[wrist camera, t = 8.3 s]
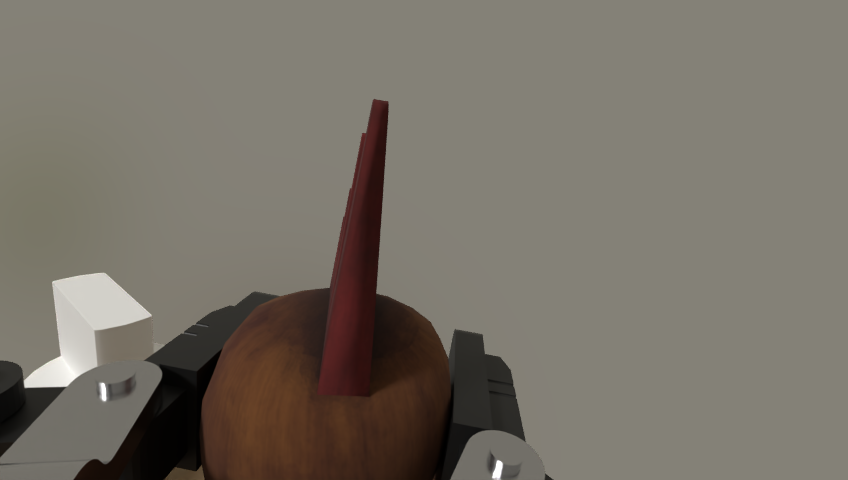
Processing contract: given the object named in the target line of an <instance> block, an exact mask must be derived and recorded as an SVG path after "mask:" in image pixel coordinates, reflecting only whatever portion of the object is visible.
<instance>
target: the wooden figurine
mask: <svg viewBox="0 0 848 480" xmlns="http://www.w3.org/2000/svg"><path fill="white" fill-rule="evenodd" d="M387 125H388V101H381V100H376V99H374V100H373V103H372V108H371V113H370V117H369V122H368V127H367V132H366V133H362V137H361V142H360V148H359V153H358V158H357V163H356V169H355V173H354V178H353V184H352V188H351V189H350V191H349V196H348V201H347V207H346V212H345V217H343V222H342V227H341V233H340V237H339V243H338V248H337V253H336V258H335V263H334V269H333V274H332V279H331V284H330V288H324V289H315V290H305V291H300V292H296V293H292V294H288V295H284V296H280V297H277V298H275V299H272V300H270V301H268V302H266V303H263V304H261V305H259V306H257V307H256V308H255V309H254V310H253V311H252V312H251V313H250V315H249V316H248V317H247V318H246V319H245V320H244V321H243V322H242V324H241V325H240V326H239V327H238V328H237V329H236V331H235V332H234V333H233V334H232V335H231V336H230V338H229V339H228V340H227V341H226V342H225V344H224V346H223V349H222V352H221V354H220V357H219V360H218V362H217V365H216V368H215V370H214V373H213V375H212V378H211V380H210V383H209V385H208V388H207V390H206V393H205V395H204V398H203V400H202V410H201V420H200V430H199V438H200V452H201V463H202V468H203V473H204V478H205V480H435V475H436V471H437V469H438V467H439V465H440V461H441V457H442V452H443V448H444V444H445V439H446V434H447V429H448V424H449V418H450V413H451V383H450V372H449V362H448V357H447V355H446V352H445V350H444V347H443V345H442V343H441V340H440V338H439V336H438V334H437V333H436V331H435V329H434V327H433V326H432V324H431V322H430V321H428V320H427V319H426V318H425V317H423V316H422V315H420V314H419V313H418V312H417V311H415V310H414V309H413V308H411V307H409V306H407V305H405V304H403V303H400V302H398V301H396V300H394V299H392V298H390V297H388V296H383V295H379V294H376V288H377V272H378V258H379V244H380V228H381V214H382V200H383V184H384V169H385V155H386V140H387V139H386V138H387Z"/></svg>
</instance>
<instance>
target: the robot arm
mask: <svg viewBox="0 0 848 480" xmlns="http://www.w3.org/2000/svg"><path fill="white" fill-rule="evenodd" d="M277 297H280V296H276V295H271V294H266V293H260V292H253V293H251V294H250V295H249V296H247V297H246V298H245V299H243V300H242V301H241V302H239V303H238V304H237V305H236V306H228V307H225V308H222V309H219V310H216V311H214V312H211V313H210V314H208V315H207V316H205V317H204V318H202V319H201V320H200V321H198V322H197V323H196V325H193V326H191V327H190V328H188V329H187V330H186V331H185V332H184V334H180V335H179V336H177V337H176V338H175V339H173V340H172V341H171V342H169V343H168V344H166V345H165V346H163V347H162V348H161V349H159V350H158V351H156V352H155V353H154V354H152V355H151V356H150V357H148V358H147V359H145V360H144V361H142V360H124V361H117V362H112V363H108V364H104V365H101V366H98V367H95V368H93V369H91V370H88V371H86V372H85V373H83V374H81V375H80V376H78V377H77V378H75V379H74V380H73V381H72V382H71V383H70V384H69V385H68V386H67V387H34V388H25V387H24V379H23V372H22V368H21V367H20V366H19V365H17V364H15V363H13V362H8V361H0V480H165V478H166V477H167V475H168V474H169V473H170V472H171V471H172V470H173V468H174V467H178V468H183V469H188V470H192V471H197V470H198V469H199V467H200V466H201V465H202V463H201V452H200V438H199V430H200V420H201V410H202V400H203V398H204V395H205V393H206V390H207V388H208V385H209V383H210V380H211V378H212V375H213V373H214V370H215V368H216V365H217V362H218V360H219V357H220V354H221V352H222V349H223V346H224V344H225V342H226V341H227V340H228V339H229V338H230V336H231V335H232V334H233V333H234V332H235V331H236V329H237V328H238V327H239V326H240V325H241V324H242V322H243V321H244V320H245V319H246V318H247V317H248V316H249V315H250V313H251V312H252V311H253V310H254V309H255V308H256V307H257V306H259V305H261V304H263V303H266V302H268V301H270V300H272V299H275V298H277ZM448 362H449V372H450V383H451V413H450V418H449V424H448V429H447V434H446V439H445V444H444V448H443V452H442V457H441V461H440V465H439V467H438V469H437V471H436V475H435V480H553V479H551V478H550V477H549V476H548V475H546V474H545V469H544V465H543V463H542V460H541V459H540V457H539V455H538V454H537V453H536V451H535V450H534V449H533V448H532V447H531V446H530V445H528V444H527V443H526V441H525V436H524V432H523V427H522V422H521V417H520V413H519V408H518V404H517V399H516V394H515V389H514V387H513V379H512V375H511V370H510V369H509V368H508V366H507V365H506V364H505V363H504V361H503V360H502V359H501V358H500V357H497V356H492V355H487V354H485V352H484V343H483V335H482V334H478V333H472V332H467V331H462V330H456V329H455V331H454V334H453V339H452V344H451V349H450V354H449V359H448Z"/></svg>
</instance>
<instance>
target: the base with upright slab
mask: <svg viewBox="0 0 848 480" xmlns="http://www.w3.org/2000/svg"><path fill="white" fill-rule="evenodd" d="M52 283H53V292H54V301H55V310H56V318H57V327H58V335H59V343H60V352H61V356H60V357H58V358H56V359H54V360H52V361H50V362H48V363H46V364H45V365H43V366H42V367H40V368H39V369H37V370H35V371H34V372H33V373H32V374H31V375H30V376H29V377H28V378H27V379H26V380H25V381H24V387H25V388H34V387H67V386H68V385H69V384H70V383H71V382H72V381H73V380H74V379H75V378H77V377H78V376H80V375H81V374H83V373H85V372H86V371H88V370H91V369H93V368H95V367H98V366H101V365H104V364H108V363H112V362H117V361H124V360H142V361H144V360H145V359H147V358H148V357H150V356H151V355H152V354H154V353H155V352H156V351H158V350H159V349H161V348H162V347H163V346H165V345H162V344H158V343H155V342H153V324H152V315H151V314H150V313H149V312H148V311H147V310H145V309H144V308H143V307H142V306H141V305H140V304H139V303H138V302H137V301H135V300H134V299H133V298H132V297H131V296H130V295H129V294H128V293H126V292H125V291H124V290H123V289H122V288H121V287H120V286H119V285H118V284H116V283H115V282H114V281H113V280H112V279H111V278H110V277H109V276H108V275H107V274H105V273H97V274H88V275H80V276H75V277H70V278H65V279H60V280H56V281H53V282H52Z"/></svg>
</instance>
